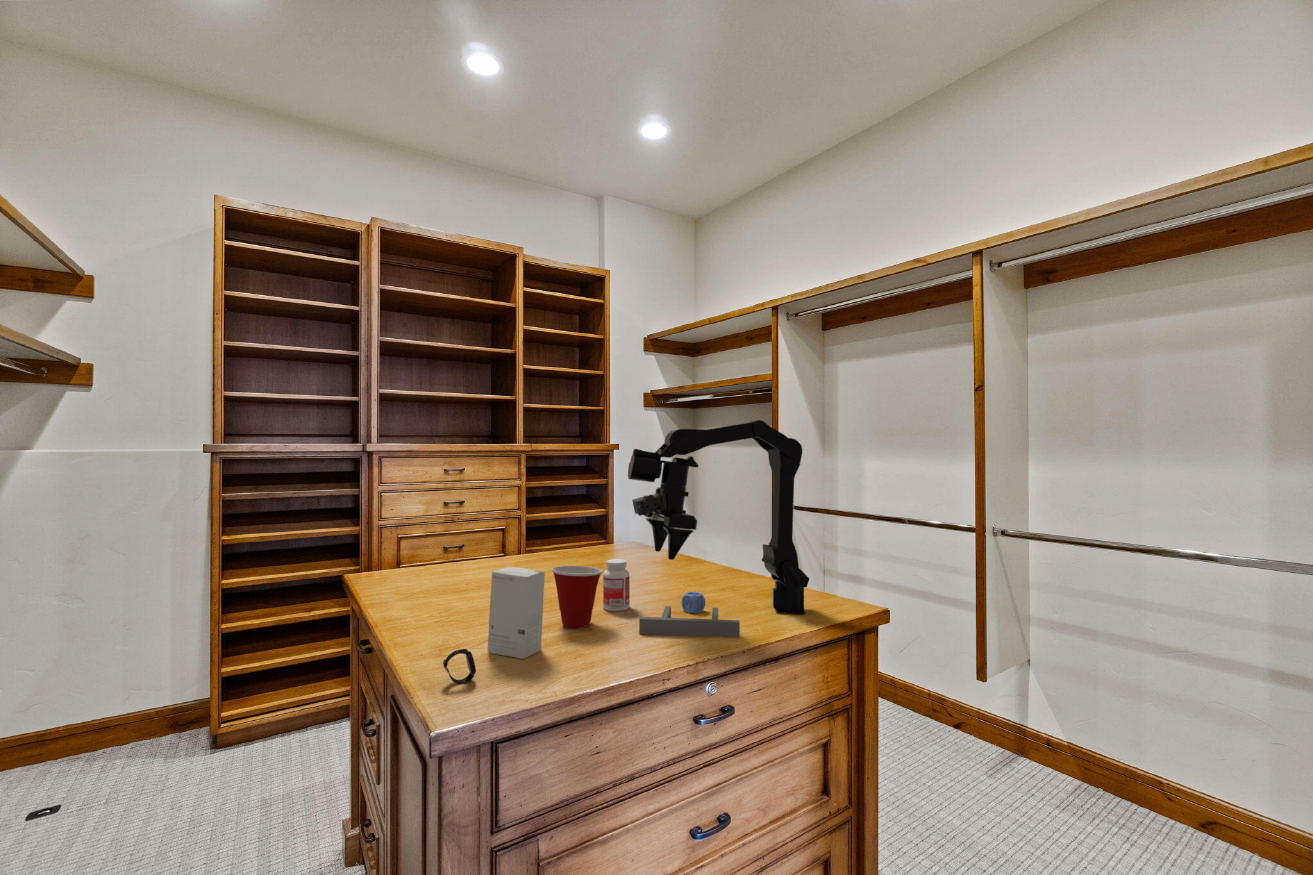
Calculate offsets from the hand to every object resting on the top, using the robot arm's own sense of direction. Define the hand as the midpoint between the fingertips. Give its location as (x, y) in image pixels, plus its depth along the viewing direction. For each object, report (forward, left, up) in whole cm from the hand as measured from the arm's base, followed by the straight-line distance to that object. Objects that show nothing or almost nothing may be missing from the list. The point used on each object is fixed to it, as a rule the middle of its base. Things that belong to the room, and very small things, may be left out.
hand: (663, 555), depth 125 cm
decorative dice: (-6, -6, -14) cm, 17 cm away
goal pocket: (-6, +6, -14) cm, 16 cm away
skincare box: (+25, +24, -14) cm, 37 cm away
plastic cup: (+18, +7, -14) cm, 24 cm away
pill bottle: (+12, -6, -14) cm, 19 cm away
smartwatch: (+29, +38, -14) cm, 50 cm away
